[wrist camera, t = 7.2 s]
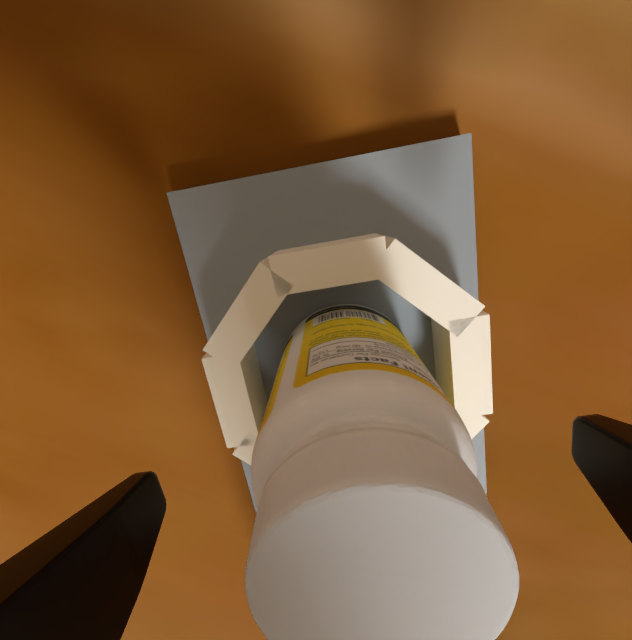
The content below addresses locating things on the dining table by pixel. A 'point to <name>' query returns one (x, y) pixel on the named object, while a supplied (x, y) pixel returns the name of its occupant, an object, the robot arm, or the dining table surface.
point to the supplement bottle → (370, 497)
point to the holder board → (339, 272)
